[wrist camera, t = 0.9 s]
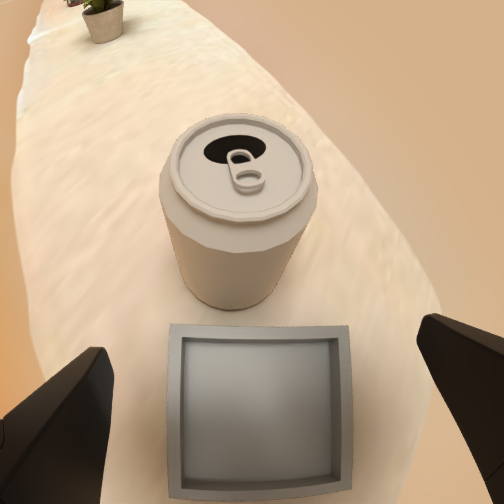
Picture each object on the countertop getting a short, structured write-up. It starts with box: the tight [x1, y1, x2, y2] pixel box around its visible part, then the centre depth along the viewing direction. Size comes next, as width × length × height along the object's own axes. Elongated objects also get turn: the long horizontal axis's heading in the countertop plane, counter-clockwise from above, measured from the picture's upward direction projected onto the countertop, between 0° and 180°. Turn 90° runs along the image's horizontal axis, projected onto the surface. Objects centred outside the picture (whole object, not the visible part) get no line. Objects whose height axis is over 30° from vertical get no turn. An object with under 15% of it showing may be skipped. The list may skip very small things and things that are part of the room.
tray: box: [167, 324, 353, 501], centre depth 18 cm, size 12×12×2 cm
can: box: [159, 113, 318, 310], centre depth 18 cm, size 8×8×12 cm
